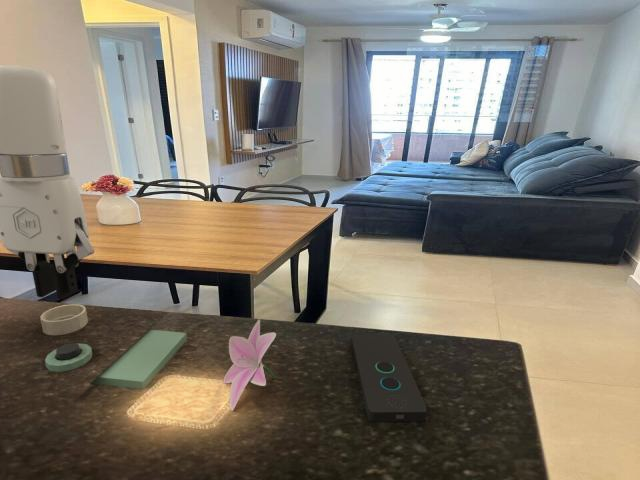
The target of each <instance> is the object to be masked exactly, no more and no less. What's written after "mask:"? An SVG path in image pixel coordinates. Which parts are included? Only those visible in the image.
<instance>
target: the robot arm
mask: <svg viewBox="0 0 640 480" xmlns="http://www.w3.org/2000/svg"><path fill="white" fill-rule="evenodd" d="M58 94H59V93H58V89H57V83H56V81H55V78H54V77H53V75H51V74H50V73H49V72H48V71H46V70H43V69H40V68H35V67H30V66H22V65H11V64H0V242H1V245H2V247H3V248H5V249H6V250H7V251H8V252H9V253H12V254H14V255H15V256H18V257H19V258H20V259H21V260H22V262H24V263H25V266H26V269H27V270H28V271H29V272H32V277H33V282H34V287H35V293H36V297H38V298H44V297H46V296H48V295H50V294H52V293H54V292H55V291H56V297H57V299H59V300H64V299H66V298H68V297H70V296H71V295H73V294H76V293H77V292H78V281H77V277H76V269H75V268H76V267H78V266H79V264H80V262H82V260H83V259H85V258H87V257H89V256H91V255H93V254H94V253H95V249H94V247H93V245H92V244H91V242H90V241H89V238H90V236H89V235H90V234H89V227H88V221H87V217H86V212H85V208H84V203H83V200H82V197H81V193H80V191H79V188H78V185H77V182H76V180H75V178H74V177H71V172H70V166H69V160H68V159H69V158H68V152H67V146H66V140H65V133H64V126H63V120H62V115H61V109H60V102H59V95H58ZM50 255H52V256H53V260H54V264H53V263H51V262H50ZM65 255H66V257H65Z"/></svg>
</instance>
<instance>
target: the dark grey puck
mask: <svg viewBox="0 0 640 480" xmlns="http://www.w3.org/2000/svg"><path fill="white" fill-rule="evenodd" d="M78 344H79V343H78ZM78 344H77V343H76V342H71V343H66V344H63V345H61V346H59V347H57V348H56V349H57V350H56V349H55V350H56V354H57V359H58V360H59V361H65V360H70V359H73V358H75V357H78V356H79V355H80V347H79V345H78Z"/></svg>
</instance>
